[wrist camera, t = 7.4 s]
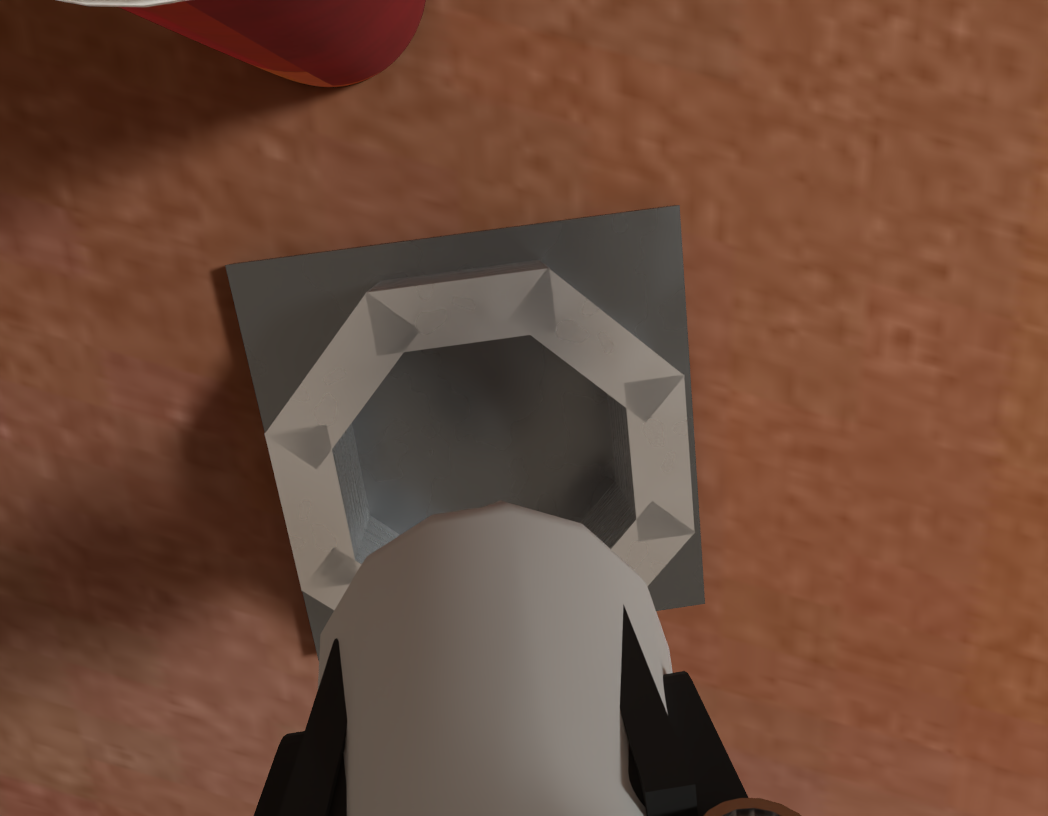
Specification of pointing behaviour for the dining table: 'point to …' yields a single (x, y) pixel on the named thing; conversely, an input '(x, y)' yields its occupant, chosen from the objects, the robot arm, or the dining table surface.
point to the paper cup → (292, 33)
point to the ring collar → (480, 391)
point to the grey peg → (490, 669)
